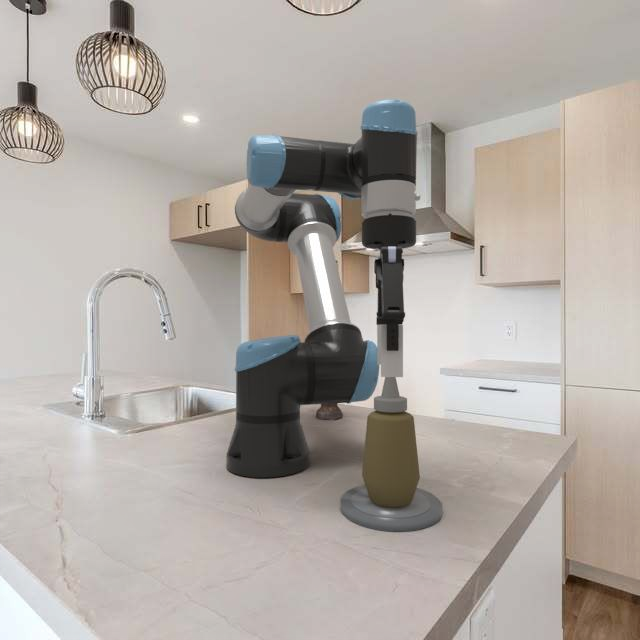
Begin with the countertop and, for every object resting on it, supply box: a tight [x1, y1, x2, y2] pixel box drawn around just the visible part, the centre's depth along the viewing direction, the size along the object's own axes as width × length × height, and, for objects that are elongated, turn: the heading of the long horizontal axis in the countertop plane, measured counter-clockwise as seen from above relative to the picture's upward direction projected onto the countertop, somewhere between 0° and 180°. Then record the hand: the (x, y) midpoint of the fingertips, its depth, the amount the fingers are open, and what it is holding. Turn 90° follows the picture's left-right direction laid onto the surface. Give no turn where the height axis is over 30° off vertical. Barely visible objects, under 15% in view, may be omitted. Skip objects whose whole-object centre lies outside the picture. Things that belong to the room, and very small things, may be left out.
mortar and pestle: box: [315, 403, 344, 421], centre depth 125 cm, size 12×9×20 cm
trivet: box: [339, 484, 443, 533], centre depth 64 cm, size 14×14×1 cm
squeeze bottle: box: [361, 377, 421, 507], centre depth 64 cm, size 8×8×18 cm
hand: (388, 370), depth 65 cm, fingers open, 13 cm apart
